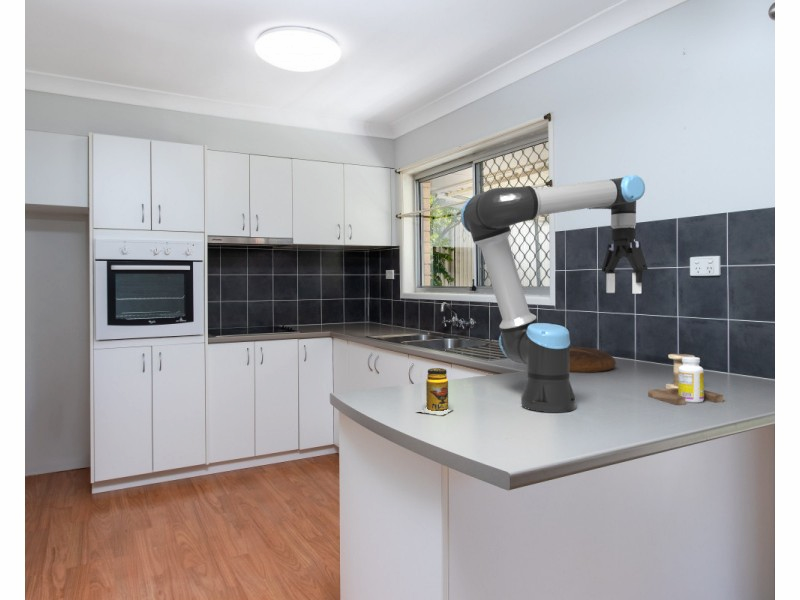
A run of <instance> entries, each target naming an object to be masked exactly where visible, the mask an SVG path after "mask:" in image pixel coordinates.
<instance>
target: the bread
mask: <svg viewBox="0 0 800 600" xmlns="http://www.w3.org/2000/svg"><path fill="white" fill-rule="evenodd" d="M615 366H616V360H615V358H614V357H613V356H612V355H611V354H609V352H606V351H603V350H602V349H598V348H595V347H594V348H593V347H587V346H570V358H569V373H600V372H607V371H610V370H612V369H613V368H614V367H615Z"/></svg>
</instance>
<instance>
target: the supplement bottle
mask: <svg viewBox="0 0 800 600" xmlns="http://www.w3.org/2000/svg"><path fill="white" fill-rule="evenodd" d="M682 362H683V365H682V366H680V367H679V368H678V396H682V397H685V403H692V404H693V403H695V404H696V403H699V404H700V403H702V402H704V390H705V389H704V387H705V382H704V380H705V379H704V376H705V375H704V373H705V372H704V368H703V367H702V366H700V363H701V358H700V357H698V356H697V357H696V356H695V357H682Z"/></svg>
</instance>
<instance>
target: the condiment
mask: <svg viewBox="0 0 800 600" xmlns="http://www.w3.org/2000/svg"><path fill="white" fill-rule="evenodd" d="M447 373H448V371H447V369H446V368H443V367H442V368H440V367H435V368H433V367H432V368H429V369H427V379H426V381H425V382H426V383H425V384H426V388H425V389H426V390H425V391H426V394H425V395H426V399H425V400H426V403H425V404H426V407H427V409H428V410H431V411H444V410H447V409H449V379H448V378H447V377H448V376H447Z"/></svg>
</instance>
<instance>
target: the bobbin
mask: <svg viewBox="0 0 800 600" xmlns="http://www.w3.org/2000/svg"><path fill="white" fill-rule="evenodd" d="M667 356H668V359H670V360H673V383H666V384H665V389H671V388H678V368H679V367H680V366H682V365H683V362H682V357H696V356H695V355H694V354H687V353H684V354H683V353H670V354H668V355H667Z"/></svg>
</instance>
